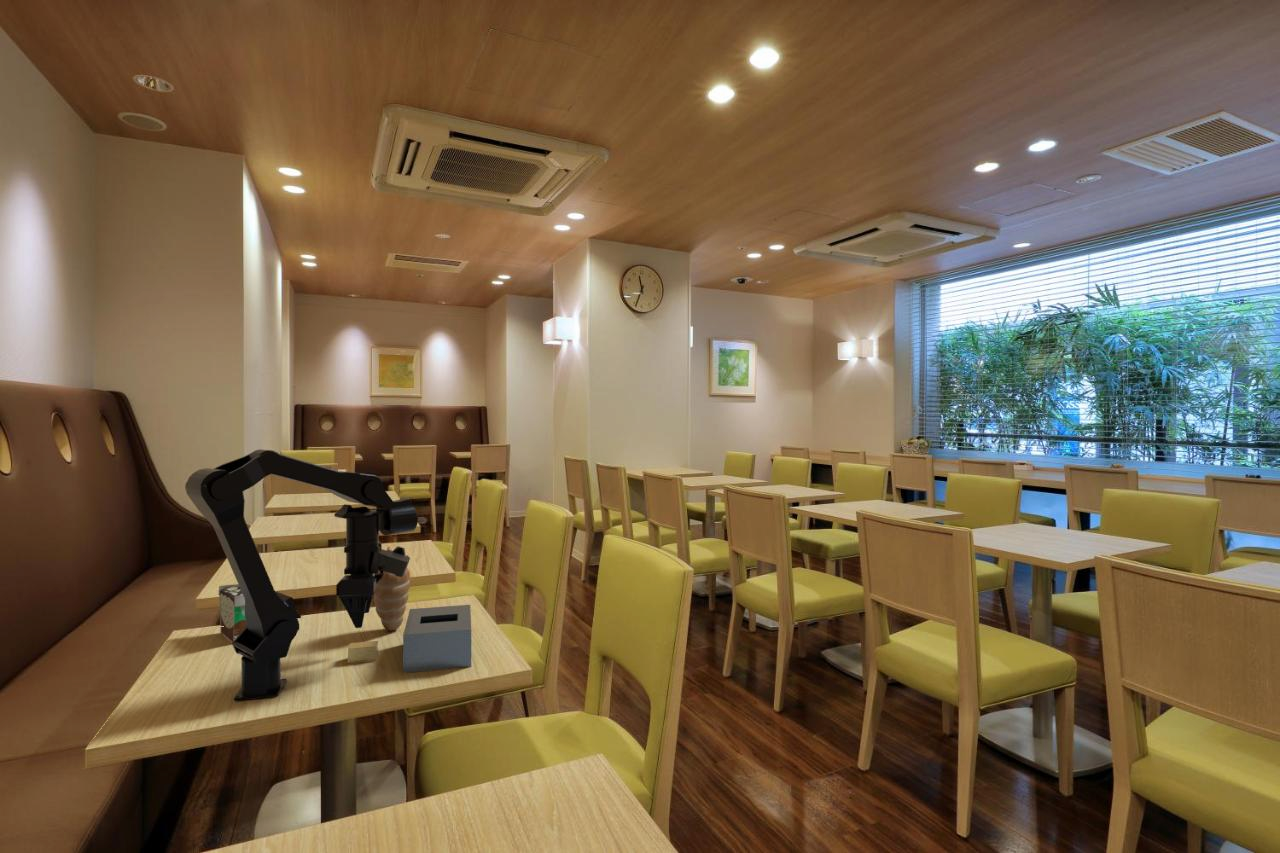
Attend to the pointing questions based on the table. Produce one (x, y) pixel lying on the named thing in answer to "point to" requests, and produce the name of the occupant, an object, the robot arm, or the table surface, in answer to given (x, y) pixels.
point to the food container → (232, 611)
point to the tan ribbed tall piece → (391, 598)
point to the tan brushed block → (362, 652)
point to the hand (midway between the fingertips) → (362, 620)
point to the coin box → (437, 638)
